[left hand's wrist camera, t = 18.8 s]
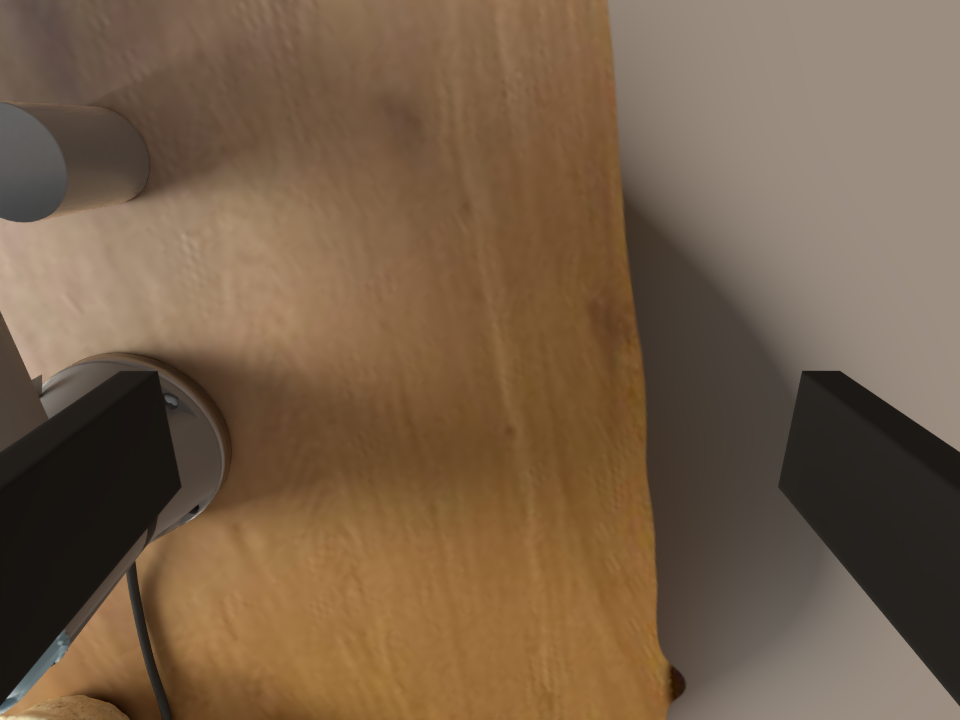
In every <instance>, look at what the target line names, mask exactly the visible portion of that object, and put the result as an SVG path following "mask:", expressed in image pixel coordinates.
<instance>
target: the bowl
mask: <svg viewBox="0 0 960 720" xmlns="http://www.w3.org/2000/svg"><path fill="white" fill-rule="evenodd" d="M0 720H130V719H129V718H128V717H127V715H125V714H124V713H122V712H121V711H120V710H119V709H118V708H117V707H115V706H114V705H113V704H111V703H109V702H104V701H101V700H98V699H93V698H89V697H87V696H85V695H75V696H63V697H56V698H52V699H49V700H47V701H45V702H42V703H39V704H37V705H35V706H33V707H31V708H29V709H27V710H24V711H22V712H20V713H13V714H9V715H2V716H0Z"/></svg>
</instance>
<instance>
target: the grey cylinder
mask: <svg viewBox="0 0 960 720" xmlns="http://www.w3.org/2000/svg"><path fill="white" fill-rule="evenodd" d="M149 169H150V162H149V155H148V151H147V148H146V145H145V143H144V141H143V139H142V137H141V136H140V134H139V133H138V131H137V130H136V129H135V128H134V126H133V125H132V124H131V123H130V122H129V121H128V120H126V119H125V118H124V117H123V116H121V115H119V114H118V113H116V112H114V111H112V110H109V109H107V108H103V107H98V106H83V105H65V104H46V103H28V102H9V101H0V218H3V219H6V220H9V221H14V222H24V223H25V222H34V221H39V220H44V219H48V218H53V217H58V216H62V215H67V214H72V213H77V212H81V211H86V210H91V209H95V208H100V207H105V206H110V205H114V204H119V203H124V202H126V201H129V200H131V199H133V198H134V197H135V196H137V195H138V194H139V193H140V192H141V191H142V189H143V188H144V186H145V184H146V182H147V179H148V176H149Z"/></svg>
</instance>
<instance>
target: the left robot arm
mask: <svg viewBox="0 0 960 720" xmlns="http://www.w3.org/2000/svg"><path fill="white" fill-rule="evenodd" d="M230 463H231V441H230V436H229V432H228V429H227V426H226V423H225V421H224V419H223V417H222V415H221V413H220V411H219V410H218V408H217V406H216V405H215V404H214V402H213V401H212V399H211V398H210V397H209V396H208V395H207V393H206V392H205V391H204V390H203V389H202V388H201V387H200V386H199V385H197V384H196V383H195V382H194V381H193V380H191V379H190V378H189V377H187V376H186V375H185V374H183V373H181V372H180V371H178V370H176V369H175V368H173V367H171V366H169V365H167V364H165V363H162V362H160V361H157V360H154V359H151V358H148V357H144V356H140V355H134V354H127V353H107V354H100V355H95V356H91V357H88V358H85V359H82V360H80V361H78V362H76V363H74V364H72V365H70V366H69V367H67V368H65V369H64V370H62V371H60V372H58V373H57V374H55V375H54V376H52V377H51V378H50V379H48V380H47V381H46V382H45V383H44V384H43V385H42V375H40V376H38V377H37V378H35V379H33V380H31V378H30V376H29V374H28V372H27V369H26V367H25V365H24V363H23V360H22V358H21V356H20V354H19V352H18V349H17V347H16V345H15V343H14V340H13V338H12V336H11V334H10V332H9V329H8V327H7V325H6V323H5V321H4V318H3V316H2V314H1V312H0V715H1V714H2V713H4V712H6V711H7V710H8V709H10V708H11V707H12V706H14V705H15V704H16V703H17V702H18V701H20V700H21V699H22V698H23V696H24V695H25V694H26V693H27V692H28V691H29V690H30V689H31V688H32V687H33V685H34V684H35V683H36V682H37V681H38V680H39V679H40V678H41V677H42V675H43V674H44V673H45V672H46V671H47V670H48V669H49V668H50V667H51V666H52V665H54V664H56V663H57V662H58V661H59V660H60V659H61V658H63V656H64V654H65V652H66V651H68V647H69V646H70V645H71V643H72V642H73V641H74V639H75V638H76V637H77V636H78V634H79V633H80V632H81V630H82V629H83V628H84V626H85V625H86V624H87V622H88V621H89V620H90V619H91V617H92V616H93V615H94V613H95V612H96V611H97V609H98V608H99V607H100V606H101V604H102V603H103V602H104V600H105V599H106V598H107V596H108V595H109V594H110V592H111V591H112V590H113V589H114V587H115V586H116V585H117V583H118V582H119V581H120V579H121V578H122V577H123V576H124V574H125V573H126V575H127V582H128V588H129V593H130V599H131V604H132V609H133V614H134V619H135V623H136V628H137V632H138V637H139V641H140V645H141V649H142V653H143V657H144V661H145V664H146V668H147V671H148V674H149V678H150V681H151V684H152V686H153V689H154V692H155V695H156V698H157V701H158V704H159V707H160V711H161V715H162V720H172V718H171V713H170V709H169V705H168V701H167V698H166V695H165V692H164V689H163V686H162V683H161V680H160V677H159V674H158V671H157V668H156V664H155V661H154V657H153V653H152V649H151V645H150V641H149V636H148V632H147V627H146V623H145V618H144V613H143V608H142V603H141V597H140V592H139V586H138V579H137V571H136V563H135V560H136V559H137V557H138V556H139V554H140V553H141V552H142V551H143V549H144V548H145V547H146V546H147V545H148V544H149V543H151V542H153V541H154V540H156V539H158V538H160V537H161V536H163V535H165V534H167V533H168V532H170V531H172V530H174V529H175V528H177V527H178V526H180V525H182V524H184V523H186V522H187V521H189V520H191V519H193V518H194V517H196V516H197V515H198V514H200V513H201V512H202V511H203V510H204V509H205V508H206V507H207V506H208V505H209V504H210V502H211V501H212V499H213V498H214V497H215V495H216V494H217V492H218V491H219V490H220V488H221V487H222V485H223V483H224V481H225V480H226V477H227V475H228V472H229V468H230ZM778 487H779V488H780V490H781V491H782V492H783V493H784V495H785V496H786V497H787V498H788V499H789V501H790V502H791V503H792V504H793V505H794V507H795V508H796V509H797V510H798V511H799V513H800V514H801V515H802V516H803V517H804V519H805V520H806V521H807V522H808V524H809V525H810V526H811V527H812V528H813V530H814V531H815V532H816V533H817V534H818V536H819V537H820V538H821V539H822V540H823V542H824V543H825V544H826V545H827V546H828V548H829V549H830V550H831V551H832V552H833V554H834V555H835V556H836V557H837V559H838V560H839V561H840V562H841V563H842V565H843V566H844V567H845V568H846V569H847V571H848V572H849V573H850V574H851V575H852V577H853V578H854V579H855V580H856V581H857V583H858V584H859V585H860V586H861V588H862V589H863V590H864V591H865V592H866V594H867V595H868V596H869V597H870V598H871V600H872V601H873V602H874V603H875V604H876V606H877V607H878V608H879V609H880V610H881V612H882V613H883V614H884V615H885V617H886V618H887V619H888V620H889V621H890V623H891V624H892V625H893V626H894V627H895V629H896V630H897V631H898V632H899V633H900V635H901V636H902V637H903V638H904V639H905V641H906V642H907V643H908V644H909V645H910V647H911V648H912V649H913V650H914V652H915V653H916V654H917V655H918V656H919V658H920V659H921V660H922V661H923V662H924V664H925V665H926V666H927V667H928V668H929V670H930V671H931V672H932V673H933V674H934V676H935V677H936V678H937V679H938V681H939V682H940V683H941V684H942V685H943V687H944V688H945V689H946V690H947V691H948V692H949V694H950V695H951V696H952V697H953V699H954V700H955V701H956V702H957V703H958V705H959V706H960V452H959V451H957V450H956V449H954V448H953V447H951V446H950V445H948V444H947V443H945V442H944V441H943V440H941V439H940V438H938V437H937V436H935V435H934V434H932V433H931V432H929V431H928V430H926V429H925V428H923V427H922V426H920V425H919V424H917V423H916V422H914V421H913V420H911V419H910V418H909V417H907V416H906V415H904V414H903V413H901V412H900V411H898V410H897V409H895V408H894V407H892V406H891V405H889V404H888V403H886V402H885V401H883V400H882V399H881V398H879V397H878V396H876V395H875V394H873V393H872V392H870V391H869V390H867V389H866V388H864V387H863V386H861V385H860V384H858V383H857V382H855V381H854V380H853V379H851V378H850V377H848V376H847V375H845V374H844V373H842V372H841V371H802V375H801V380H800V384H799V389H798V394H797V399H796V404H795V408H794V413H793V418H792V423H791V428H790V433H789V437H788V442H787V447H786V452H785V457H784V461H783V466H782V471H781V476H780V481H779V486H778Z"/></svg>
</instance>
